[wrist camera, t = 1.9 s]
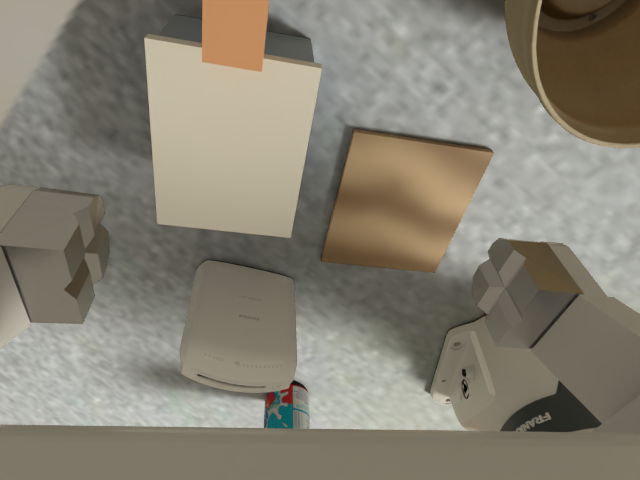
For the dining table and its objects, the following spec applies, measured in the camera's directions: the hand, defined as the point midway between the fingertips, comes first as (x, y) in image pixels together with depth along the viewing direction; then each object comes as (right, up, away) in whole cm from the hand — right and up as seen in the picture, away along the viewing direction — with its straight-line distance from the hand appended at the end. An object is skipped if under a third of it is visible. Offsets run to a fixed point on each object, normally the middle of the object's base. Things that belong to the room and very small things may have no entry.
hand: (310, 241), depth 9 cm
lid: (-5, +8, +19) cm, 21 cm away
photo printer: (-7, -4, +35) cm, 36 cm away
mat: (+7, +3, +30) cm, 31 cm away
